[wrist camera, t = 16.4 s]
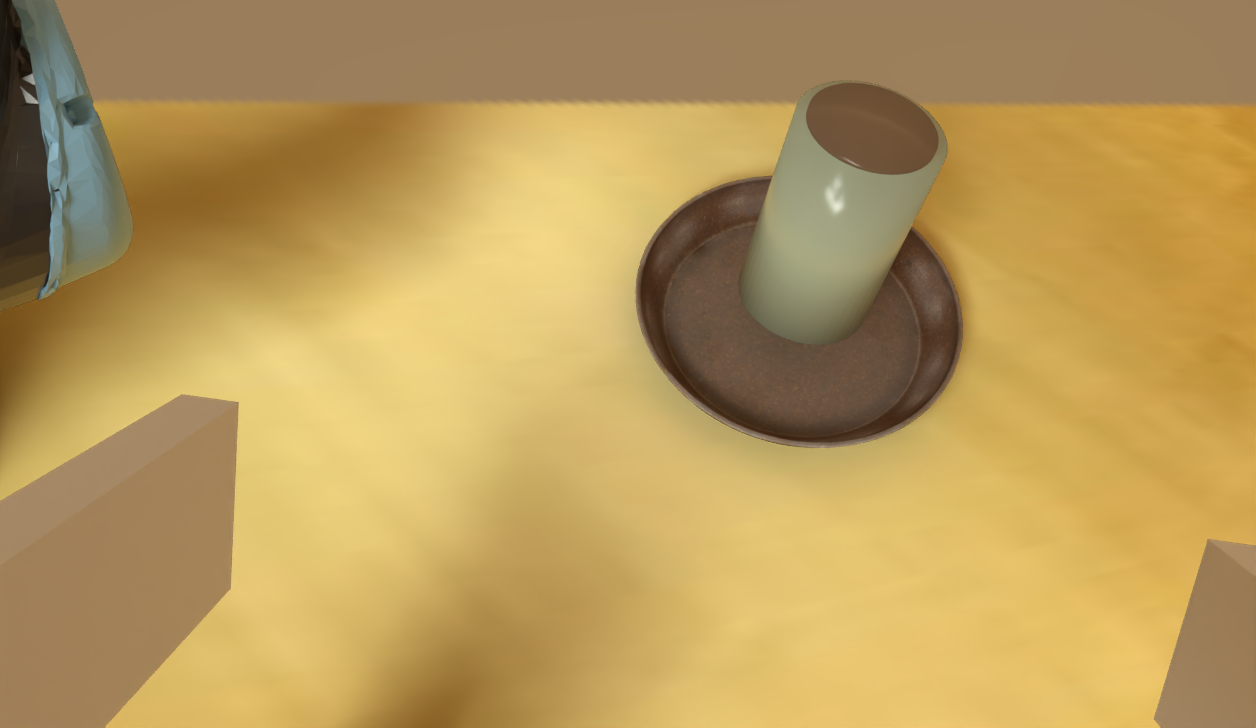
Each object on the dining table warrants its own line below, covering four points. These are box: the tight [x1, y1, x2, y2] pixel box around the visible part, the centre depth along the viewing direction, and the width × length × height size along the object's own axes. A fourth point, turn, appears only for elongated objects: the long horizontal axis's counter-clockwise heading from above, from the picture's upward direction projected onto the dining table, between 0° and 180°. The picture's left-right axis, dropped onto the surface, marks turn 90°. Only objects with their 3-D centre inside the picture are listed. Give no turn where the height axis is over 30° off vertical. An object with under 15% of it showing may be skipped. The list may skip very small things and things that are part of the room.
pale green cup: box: [738, 81, 947, 345], centre depth 49 cm, size 7×7×11 cm
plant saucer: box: [636, 176, 963, 448], centre depth 55 cm, size 18×18×3 cm
